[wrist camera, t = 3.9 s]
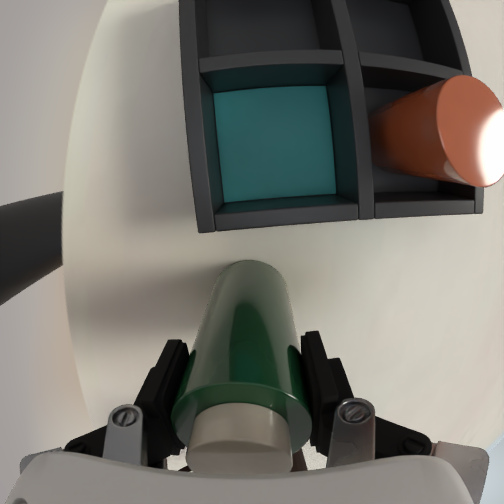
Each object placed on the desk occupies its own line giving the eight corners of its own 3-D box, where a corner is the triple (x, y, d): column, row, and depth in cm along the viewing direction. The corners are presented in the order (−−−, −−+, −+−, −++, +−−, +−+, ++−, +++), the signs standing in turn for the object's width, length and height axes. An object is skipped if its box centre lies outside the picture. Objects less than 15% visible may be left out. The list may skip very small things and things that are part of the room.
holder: (213, 216, 17) (197, 233, 13) (194, -4, 13) (178, -41, 9) (441, 201, 17) (483, 213, 12) (410, 2, 12) (439, -24, 8)
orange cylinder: (364, 175, 16) (441, 186, 8) (358, 103, 15) (427, 64, 7) (425, 175, 16) (513, 189, 8) (419, 108, 14) (504, 87, 7)
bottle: (219, 328, 20) (182, 492, 8) (208, 263, 18) (136, 416, 6) (289, 323, 19) (314, 491, 7) (285, 256, 18) (325, 414, 6)
